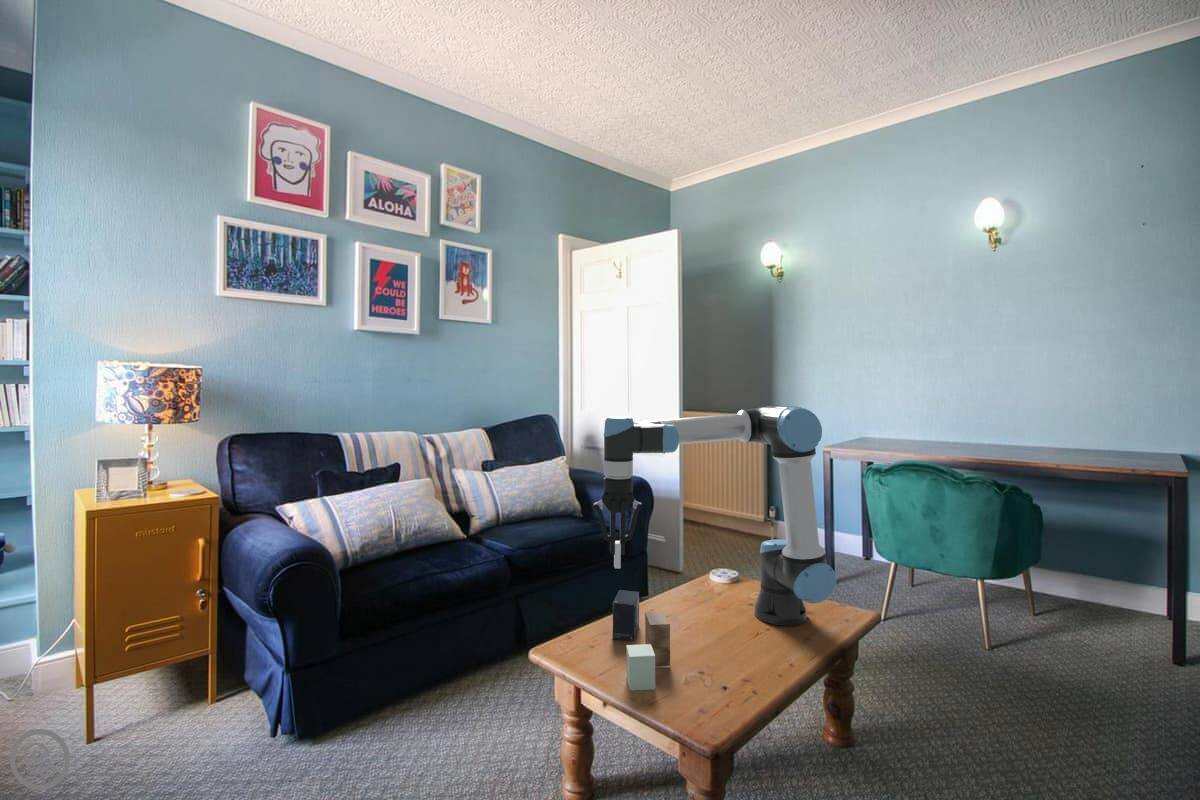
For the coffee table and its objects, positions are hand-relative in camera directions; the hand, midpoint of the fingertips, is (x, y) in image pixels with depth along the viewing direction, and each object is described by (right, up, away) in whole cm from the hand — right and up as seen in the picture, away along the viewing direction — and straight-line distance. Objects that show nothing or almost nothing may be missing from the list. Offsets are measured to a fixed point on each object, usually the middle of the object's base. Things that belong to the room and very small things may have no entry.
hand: (617, 566), depth 151 cm
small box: (+3, -24, +15) cm, 28 cm away
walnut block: (+10, -24, -1) cm, 26 cm away
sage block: (+5, -24, -13) cm, 28 cm away
